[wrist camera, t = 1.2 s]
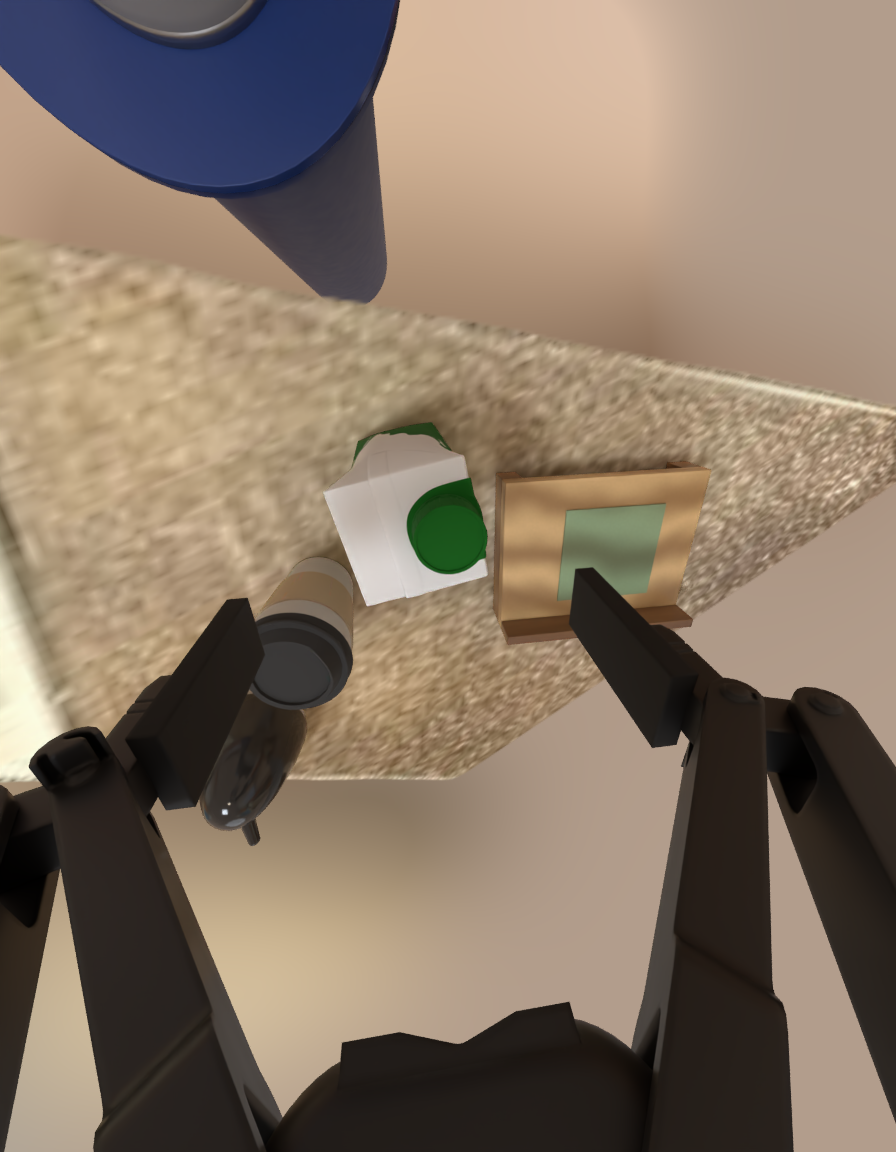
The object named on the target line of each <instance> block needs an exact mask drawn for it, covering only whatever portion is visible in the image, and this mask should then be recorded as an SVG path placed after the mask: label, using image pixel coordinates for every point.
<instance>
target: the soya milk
mask: <svg viewBox="0 0 896 1152" xmlns="http://www.w3.org/2000/svg"><path fill="white" fill-rule="evenodd" d="M323 494H324V497H325V499H326V502H327V505H328V507H329V510H330V512H331V515H332V517H333V520H334V523H335V525H336V528H337V530H338V533H339V535H340V538H341V541H342V543H343V546H344V548H345V551H346V554H347V556H348V559H349V561H350V564H351V566H352V569H353V572H354V574H355V577H356V579H357V582H358V584H359V587H360V590H361V592H362V595H363V597H364V600H365V602H366V605H367V606H371V605H375V604H379V603H383V602H386V601H390V600H394V599H398V598H402V597H407V598H411V597H415V596H419V595H422V594H425V593H427V592H430V591H434V590H438V589H442V588H445V587H449V586H453V585H456V584H460V583H464V582H467V581H471V580H475V579H478V578H482V577H485V576H487V575H488V569H487V564H486V559H485V557H486V550H485V549H486V546H487V537H488V536H487V530H486V527H485V524H484V522H483V516H482V512H481V509H480V506H479V504H478V502H477V500H476V498H475V496H474V491H473V486H472V481H471V478H469V476H468V472H467V467H466V462H465V457H464V456H463V455H461V454H458V453H455V452H452V450H451V449H450V448H449V446H448V445H447V443H446V442H445V440H444V439H443V437H442V436H441V435H440V433H439V432H438V430H437V429H436V427H435V426H434V425H433V423H432V422H430V423H423V424H416V425H410V426H406V427H401V428H397V429H393V430H388V431H384V432H381V433H377V434H374V435H372V436H370V437H368V438H366V439H363V440H361V441H358V444H357V448H356V452H355V456H354V460H353V464H352V468H351V469H350V470H349V471H348V472H347V473H346V474H345V475H343V476H342V477H341V478H340V479H338V480H337V481H336V482H335V483H334V484H332V485H331V486H330V487H329V488H328V489H326V490H325V491H324V492H323Z"/></svg>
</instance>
